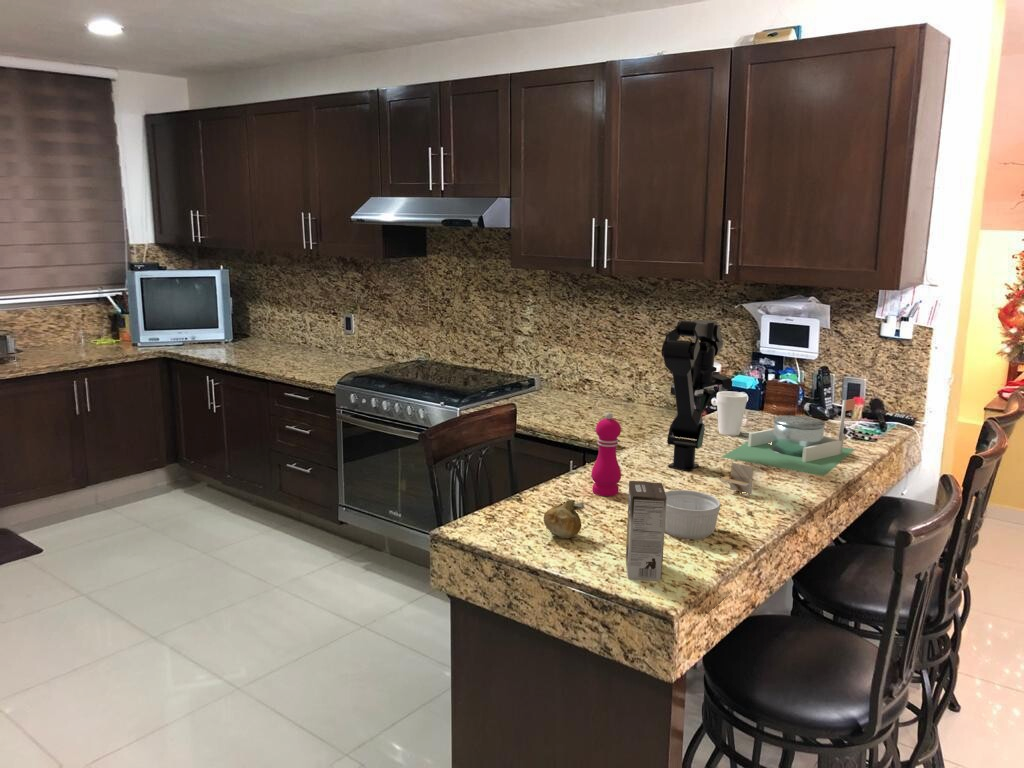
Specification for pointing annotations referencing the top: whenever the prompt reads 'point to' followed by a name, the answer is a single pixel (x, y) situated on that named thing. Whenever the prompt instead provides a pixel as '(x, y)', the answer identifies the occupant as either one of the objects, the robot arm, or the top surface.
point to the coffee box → (645, 530)
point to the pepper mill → (607, 458)
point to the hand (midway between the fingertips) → (699, 413)
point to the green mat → (786, 459)
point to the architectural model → (740, 478)
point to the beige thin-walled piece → (815, 451)
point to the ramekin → (690, 514)
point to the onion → (564, 519)
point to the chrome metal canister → (796, 434)
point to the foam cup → (730, 411)
